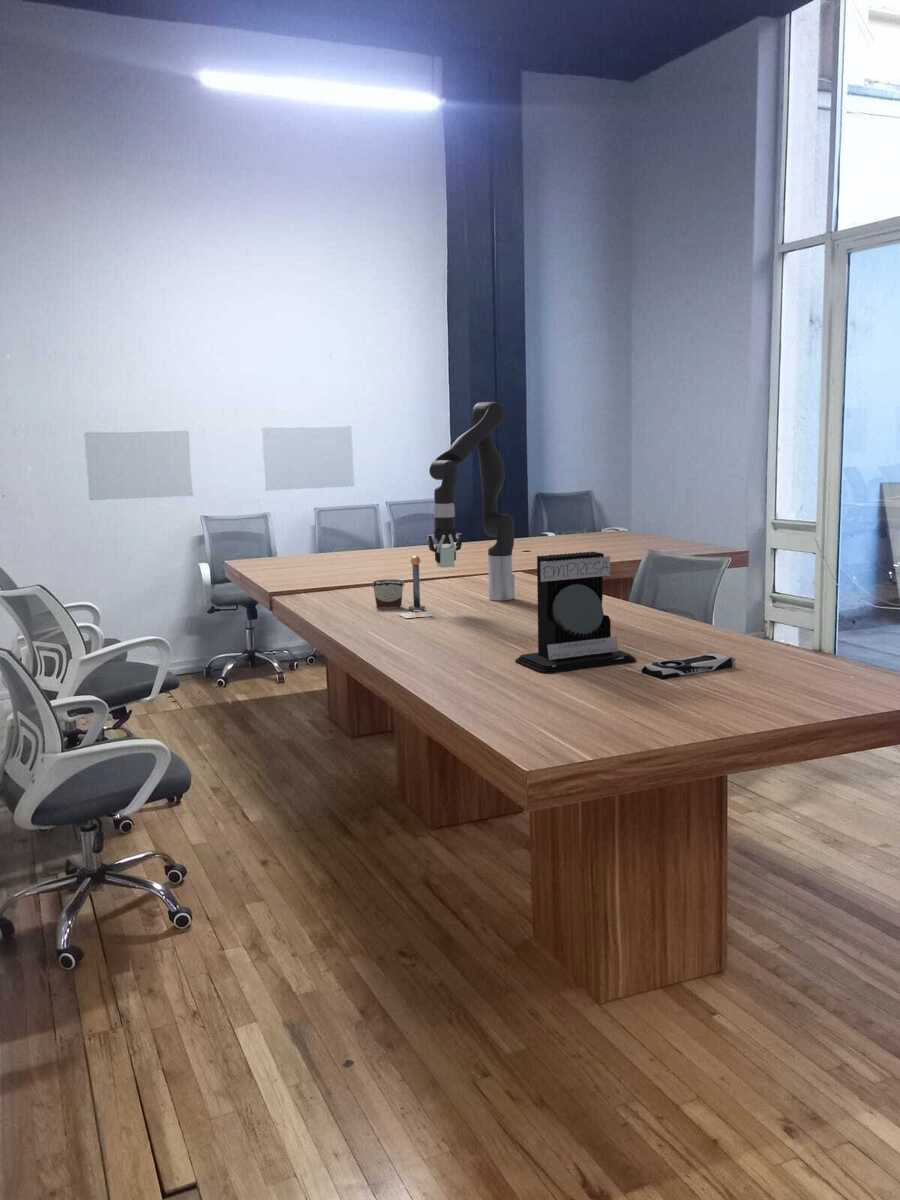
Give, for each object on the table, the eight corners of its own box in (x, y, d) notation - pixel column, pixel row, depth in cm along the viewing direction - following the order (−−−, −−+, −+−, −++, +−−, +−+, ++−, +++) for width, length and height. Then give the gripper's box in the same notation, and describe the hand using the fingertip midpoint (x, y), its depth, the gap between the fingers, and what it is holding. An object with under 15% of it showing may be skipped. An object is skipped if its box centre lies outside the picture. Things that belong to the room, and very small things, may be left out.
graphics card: (735, 656, 272) (662, 669, 261) (735, 669, 273) (662, 681, 261) (709, 650, 281) (637, 661, 269) (709, 662, 281) (637, 674, 270)
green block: (449, 565, 374) (449, 546, 373) (454, 566, 369) (454, 547, 368) (436, 565, 372) (436, 546, 371) (441, 567, 367) (441, 548, 366)
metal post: (421, 608, 378) (420, 554, 375) (427, 610, 373) (426, 556, 370) (406, 609, 376) (404, 555, 373) (412, 611, 371) (410, 557, 367)
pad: (422, 612, 369) (422, 611, 369) (433, 616, 360) (433, 615, 360) (397, 614, 365) (396, 613, 365) (406, 619, 356) (406, 618, 356)
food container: (407, 604, 386) (406, 578, 385) (405, 607, 380) (404, 581, 379) (375, 605, 388) (374, 579, 386) (372, 607, 382) (371, 581, 380)
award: (543, 675, 270) (542, 563, 265) (511, 661, 287) (509, 556, 282) (640, 662, 282) (640, 555, 277) (604, 649, 299) (603, 548, 294)
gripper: (459, 514, 374) (459, 560, 376) (422, 516, 369) (423, 562, 371) (466, 515, 367) (467, 562, 369) (429, 517, 362) (430, 564, 364)
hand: (445, 562), depth 370 cm, fingers closed on green block, 5 cm apart
